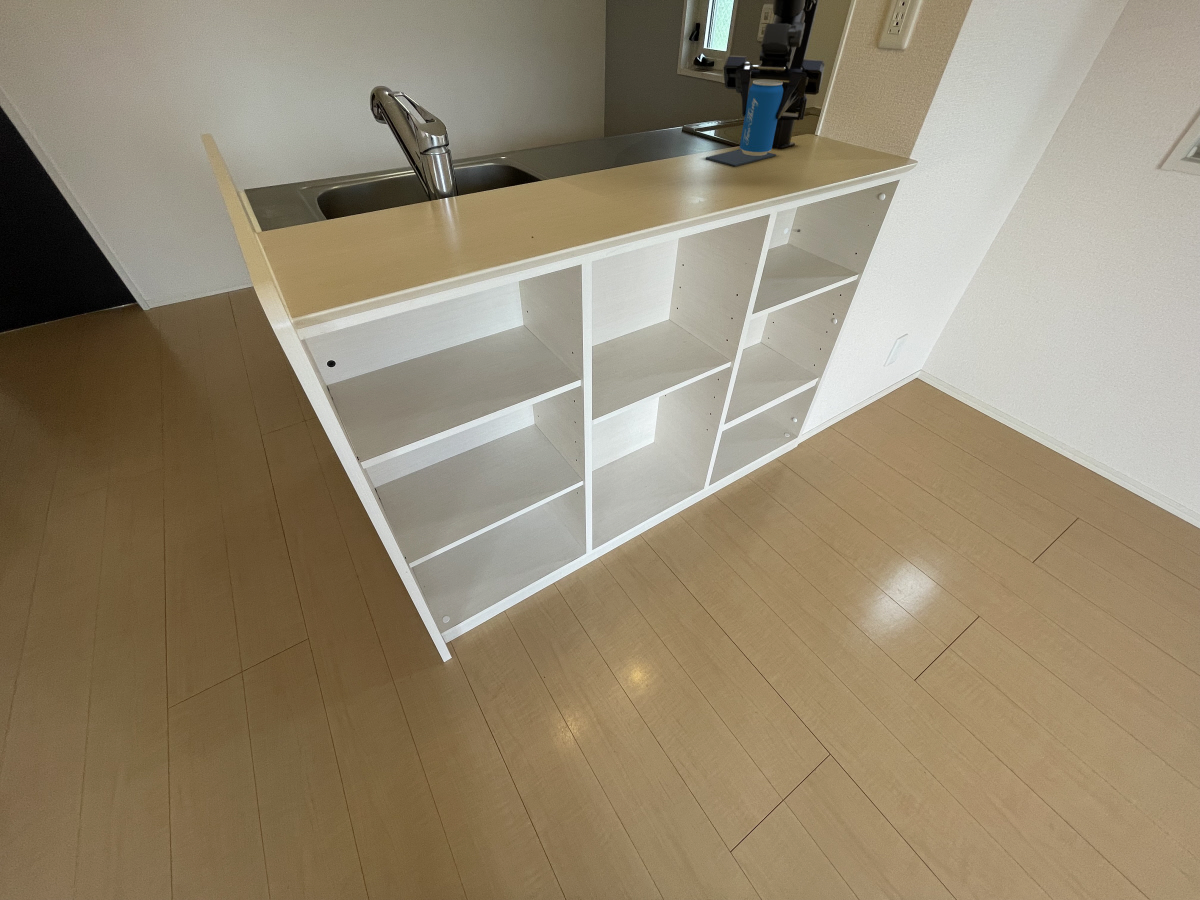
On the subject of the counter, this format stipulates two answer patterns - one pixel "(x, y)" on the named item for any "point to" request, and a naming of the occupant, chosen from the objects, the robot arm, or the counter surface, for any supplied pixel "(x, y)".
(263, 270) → the counter surface
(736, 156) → the mat
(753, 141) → the beverage can
